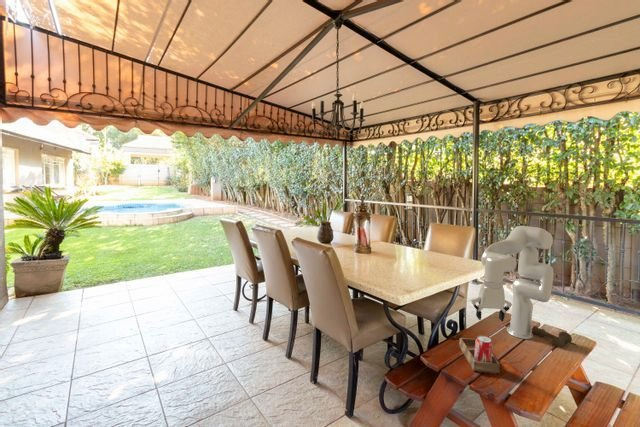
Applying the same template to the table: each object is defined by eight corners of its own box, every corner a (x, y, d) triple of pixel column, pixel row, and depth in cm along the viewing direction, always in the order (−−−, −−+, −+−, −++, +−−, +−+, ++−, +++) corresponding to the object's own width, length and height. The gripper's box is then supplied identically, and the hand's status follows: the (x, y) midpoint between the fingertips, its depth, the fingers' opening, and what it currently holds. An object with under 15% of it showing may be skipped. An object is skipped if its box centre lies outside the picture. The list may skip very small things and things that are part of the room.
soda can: (470, 358, 147) (472, 334, 146) (484, 357, 148) (486, 334, 146) (479, 367, 140) (481, 343, 139) (494, 367, 141) (496, 342, 139)
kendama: (536, 331, 177) (579, 347, 161) (528, 337, 172) (572, 353, 155) (537, 322, 177) (580, 336, 160) (529, 327, 171) (573, 342, 155)
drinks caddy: (458, 345, 160) (459, 337, 160) (481, 347, 159) (481, 339, 158) (473, 371, 139) (474, 362, 139) (499, 373, 138) (500, 364, 138)
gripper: (509, 282, 142) (506, 316, 145) (470, 280, 145) (467, 314, 147) (517, 288, 135) (513, 324, 137) (476, 285, 137) (473, 321, 140)
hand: (489, 319), depth 142 cm, fingers open, 9 cm apart
